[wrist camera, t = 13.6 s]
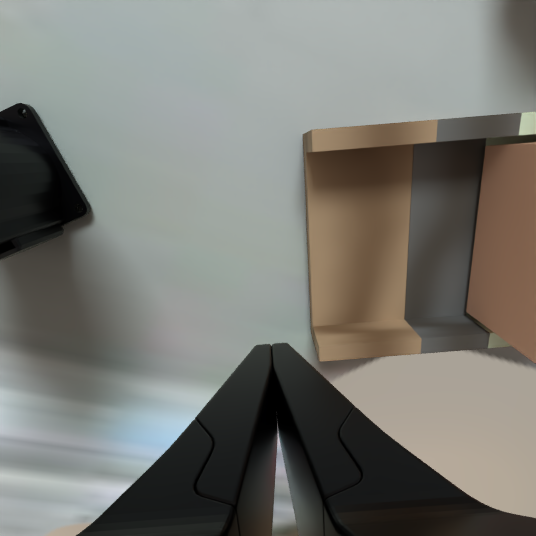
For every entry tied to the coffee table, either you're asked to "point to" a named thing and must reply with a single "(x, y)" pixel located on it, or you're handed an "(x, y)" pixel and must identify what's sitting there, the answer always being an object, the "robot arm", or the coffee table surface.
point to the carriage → (506, 247)
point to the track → (398, 233)
